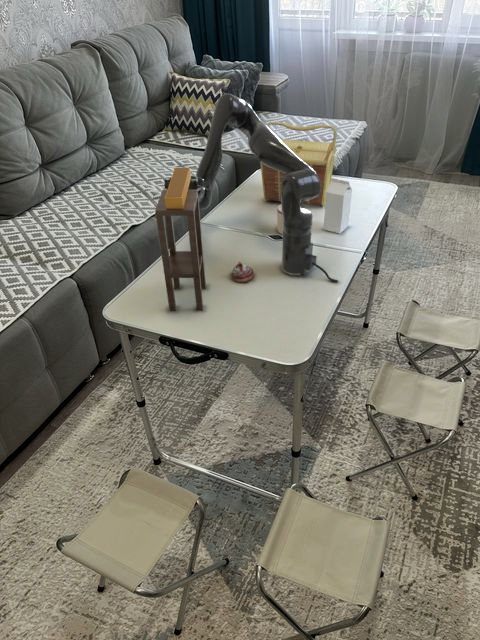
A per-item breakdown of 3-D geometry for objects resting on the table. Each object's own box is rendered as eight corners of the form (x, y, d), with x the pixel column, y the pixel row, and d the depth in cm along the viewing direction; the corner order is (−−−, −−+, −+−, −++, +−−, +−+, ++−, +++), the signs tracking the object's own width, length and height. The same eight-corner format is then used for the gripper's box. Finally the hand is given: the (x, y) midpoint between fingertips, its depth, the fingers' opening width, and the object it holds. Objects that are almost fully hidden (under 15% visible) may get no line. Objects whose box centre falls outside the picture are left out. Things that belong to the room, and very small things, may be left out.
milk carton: (340, 234, 192) (345, 184, 180) (323, 229, 195) (327, 181, 183) (347, 226, 197) (353, 178, 185) (331, 222, 200) (335, 174, 188)
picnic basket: (335, 188, 226) (341, 116, 207) (327, 212, 207) (333, 135, 188) (271, 182, 231) (271, 112, 212) (257, 206, 212) (257, 130, 193)
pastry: (227, 273, 170) (227, 260, 167) (248, 268, 172) (248, 255, 169) (236, 285, 164) (236, 271, 161) (258, 280, 167) (258, 266, 164)
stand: (175, 286, 164) (162, 189, 144) (206, 285, 164) (197, 189, 144) (169, 310, 153) (155, 210, 133) (202, 310, 153) (193, 210, 133)
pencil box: (175, 177, 151) (174, 167, 149) (191, 177, 151) (190, 167, 149) (166, 208, 134) (164, 197, 132) (183, 208, 134) (182, 197, 132)
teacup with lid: (294, 238, 190) (295, 208, 182) (272, 232, 193) (272, 203, 186) (307, 225, 198) (309, 196, 190) (286, 220, 201) (287, 192, 194)
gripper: (169, 177, 169) (160, 168, 153) (212, 177, 169) (208, 168, 153) (170, 201, 171) (161, 194, 155) (213, 200, 171) (208, 193, 155)
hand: (184, 181), depth 154 cm, fingers open, 8 cm apart
